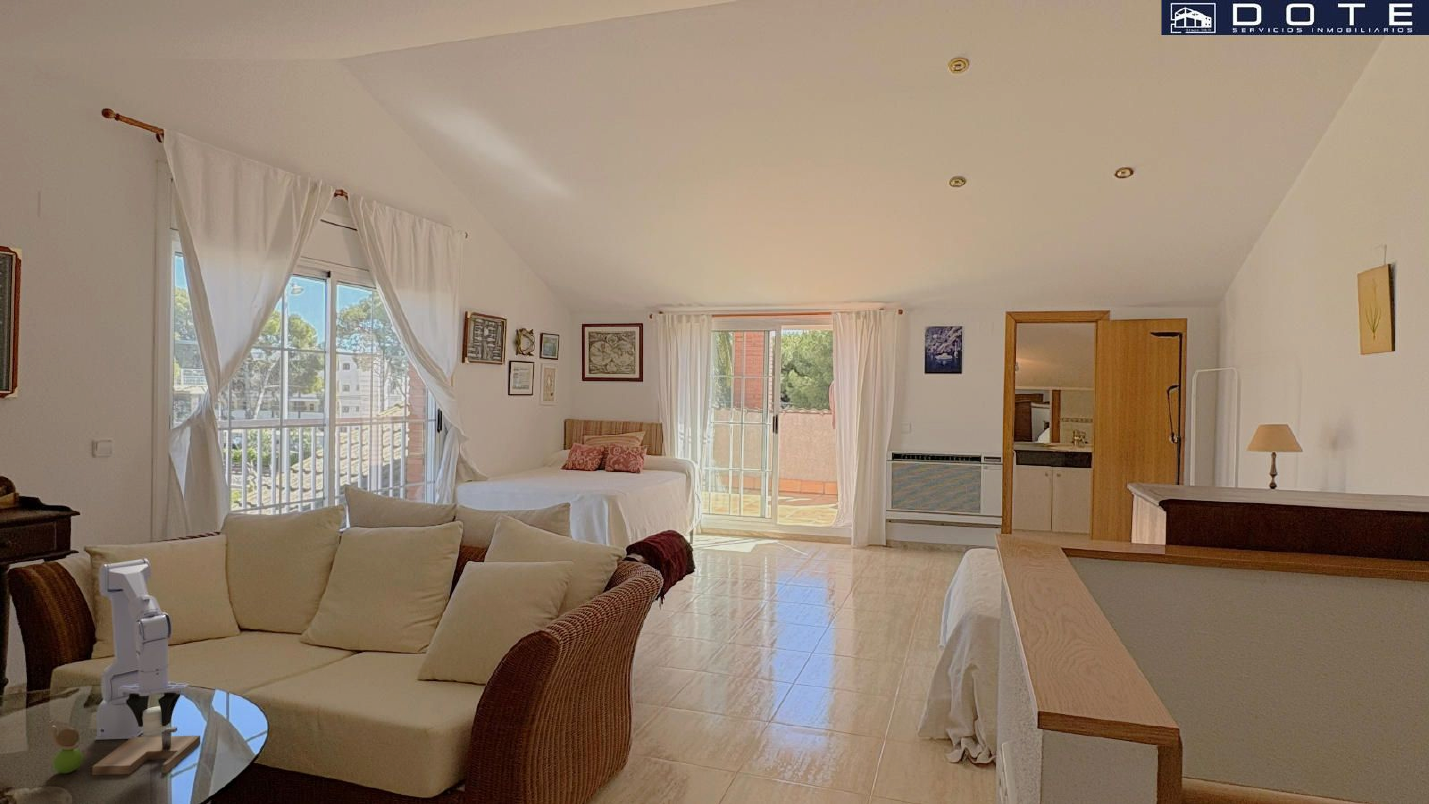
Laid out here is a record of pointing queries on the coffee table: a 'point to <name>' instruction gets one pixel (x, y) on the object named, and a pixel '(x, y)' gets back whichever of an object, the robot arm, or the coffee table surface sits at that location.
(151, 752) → the shelf board
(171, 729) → the hook post
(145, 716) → the ribbed cream cylinder
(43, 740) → the coffee table surface
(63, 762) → the snail figurine
